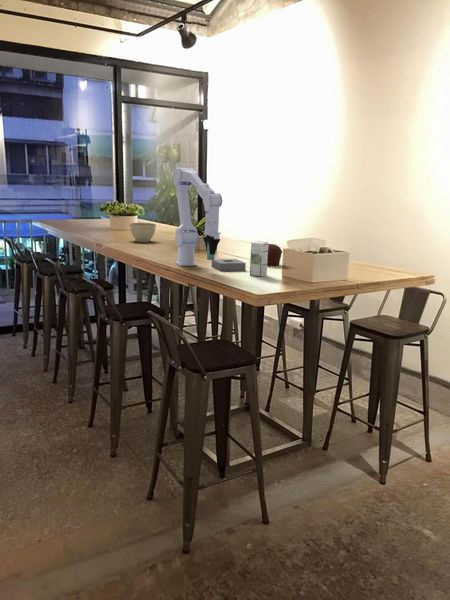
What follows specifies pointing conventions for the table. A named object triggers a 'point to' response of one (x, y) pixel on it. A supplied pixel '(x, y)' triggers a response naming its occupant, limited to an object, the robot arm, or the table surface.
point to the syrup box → (258, 258)
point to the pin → (209, 257)
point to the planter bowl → (142, 231)
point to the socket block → (228, 265)
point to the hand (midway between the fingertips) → (210, 253)
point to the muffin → (273, 255)
